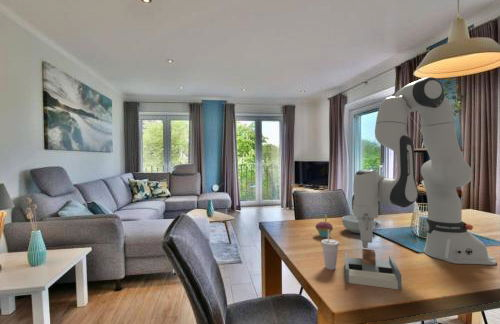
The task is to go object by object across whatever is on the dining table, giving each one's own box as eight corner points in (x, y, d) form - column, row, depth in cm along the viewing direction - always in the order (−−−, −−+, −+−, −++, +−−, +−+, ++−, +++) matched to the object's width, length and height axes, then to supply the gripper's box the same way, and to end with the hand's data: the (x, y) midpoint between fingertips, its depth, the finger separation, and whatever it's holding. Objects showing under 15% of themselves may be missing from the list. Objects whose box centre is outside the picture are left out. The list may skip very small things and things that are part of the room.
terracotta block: (374, 260, 97) (374, 249, 97) (375, 265, 93) (375, 253, 93) (362, 259, 98) (362, 248, 98) (363, 263, 94) (363, 252, 94)
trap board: (392, 268, 96) (392, 256, 96) (401, 289, 81) (401, 275, 81) (345, 263, 101) (345, 251, 101) (345, 282, 86) (345, 268, 86)
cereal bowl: (380, 236, 132) (380, 222, 132) (345, 235, 135) (345, 222, 135) (370, 227, 149) (370, 215, 149) (339, 226, 152) (339, 214, 152)
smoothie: (325, 262, 102) (325, 226, 102) (342, 266, 98) (341, 229, 98) (318, 268, 97) (317, 230, 97) (335, 272, 93) (335, 233, 93)
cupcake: (336, 237, 133) (336, 213, 133) (322, 239, 130) (322, 215, 130) (325, 232, 141) (325, 210, 141) (312, 234, 138) (311, 212, 138)
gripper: (377, 218, 91) (376, 257, 92) (372, 207, 110) (371, 239, 111) (357, 216, 93) (356, 255, 94) (355, 206, 113) (355, 238, 113)
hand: (364, 246), depth 102 cm, fingers closed
